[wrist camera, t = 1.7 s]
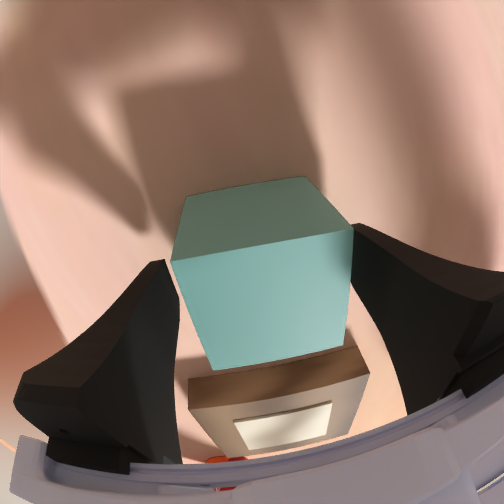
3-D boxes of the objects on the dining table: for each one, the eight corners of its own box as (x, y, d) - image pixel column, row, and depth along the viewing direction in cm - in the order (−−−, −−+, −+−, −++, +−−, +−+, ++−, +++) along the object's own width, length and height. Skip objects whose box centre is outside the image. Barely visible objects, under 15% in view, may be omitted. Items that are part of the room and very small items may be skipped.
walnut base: (354, 340, 19) (371, 375, 16) (339, 410, 25) (348, 435, 22) (188, 373, 18) (188, 412, 16) (225, 433, 25) (227, 459, 22)
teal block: (304, 175, 12) (353, 228, 7) (309, 270, 14) (342, 345, 10) (186, 195, 12) (170, 261, 7) (211, 288, 14) (212, 370, 10)
